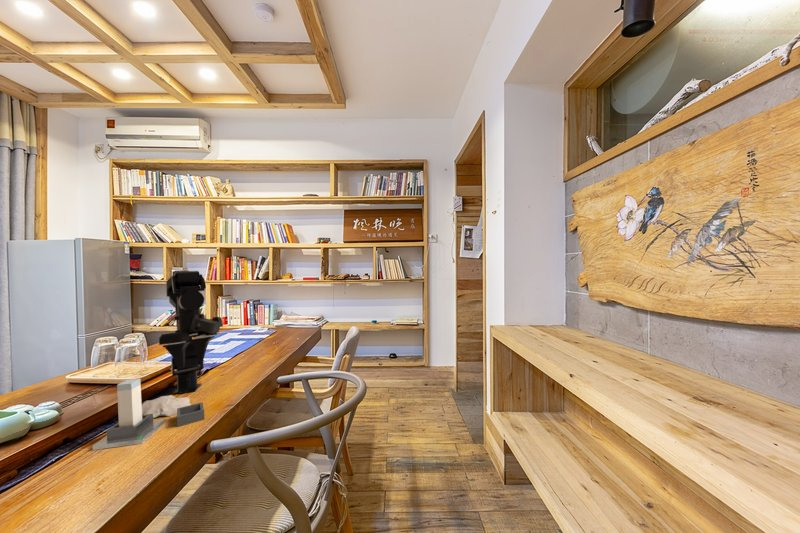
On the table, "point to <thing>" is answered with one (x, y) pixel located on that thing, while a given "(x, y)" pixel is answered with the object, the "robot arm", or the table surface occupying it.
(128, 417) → the plug
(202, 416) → the grey hollow square frame
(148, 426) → the port
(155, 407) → the decorative stone
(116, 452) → the table surface
